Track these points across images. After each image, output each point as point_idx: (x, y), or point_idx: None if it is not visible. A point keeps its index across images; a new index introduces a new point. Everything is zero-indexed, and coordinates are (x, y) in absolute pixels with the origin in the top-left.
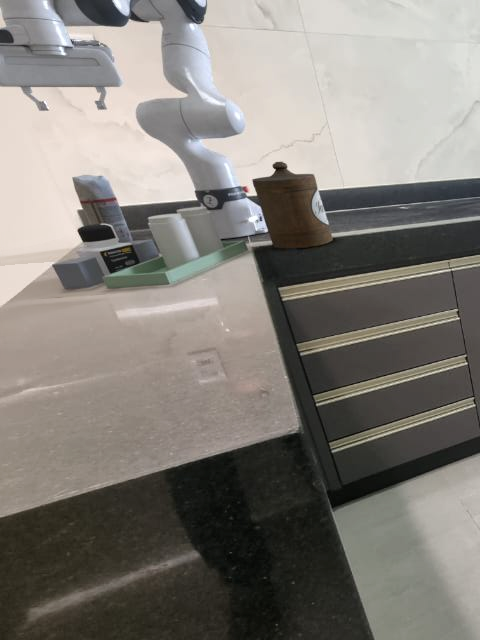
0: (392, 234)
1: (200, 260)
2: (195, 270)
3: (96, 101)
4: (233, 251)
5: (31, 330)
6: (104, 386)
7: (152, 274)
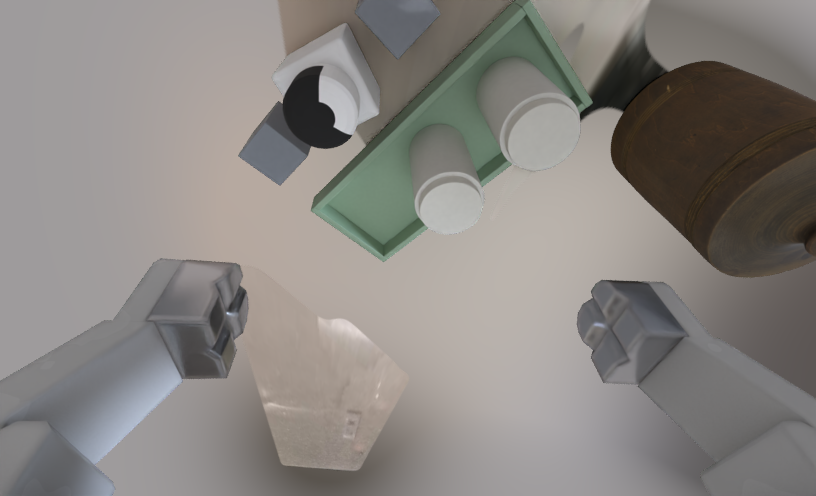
0: None
1: None
2: None
3: (607, 379)
4: None
5: None
6: (305, 419)
7: (370, 252)
